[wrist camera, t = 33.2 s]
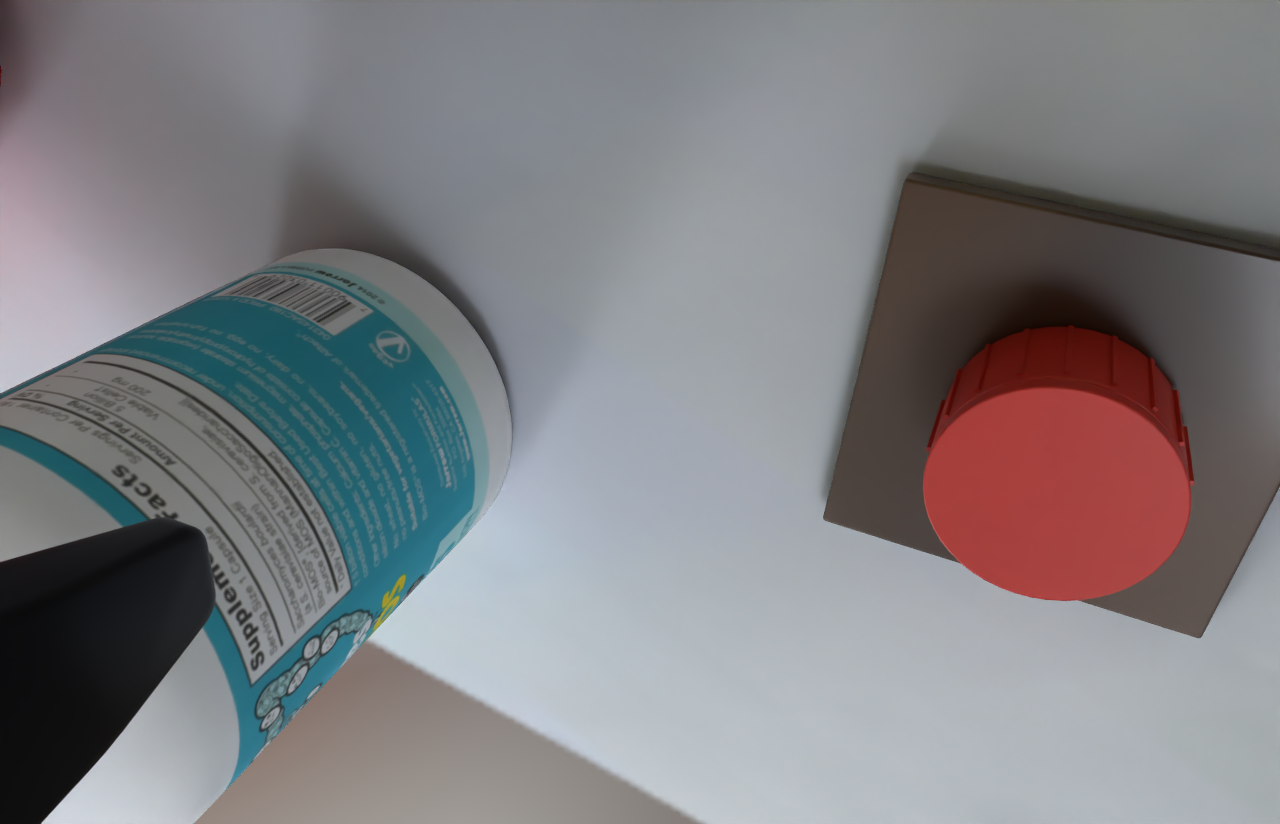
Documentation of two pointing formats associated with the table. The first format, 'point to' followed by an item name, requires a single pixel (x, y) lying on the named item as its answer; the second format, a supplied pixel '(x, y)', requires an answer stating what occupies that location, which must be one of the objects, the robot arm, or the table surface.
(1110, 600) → the coaster
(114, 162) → the table surface
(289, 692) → the pill bottle
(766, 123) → the table surface
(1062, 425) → the cap
